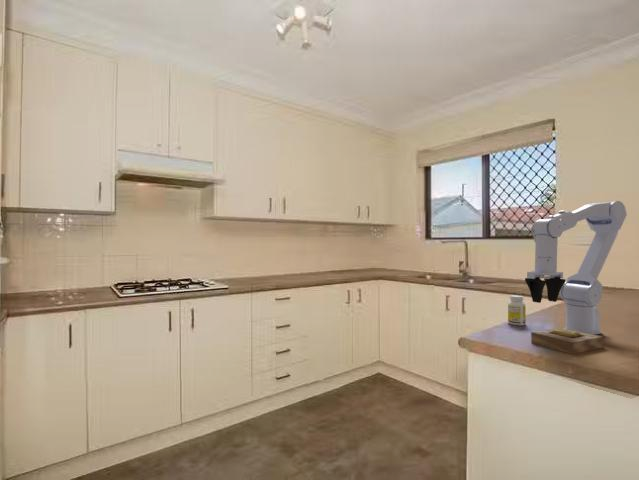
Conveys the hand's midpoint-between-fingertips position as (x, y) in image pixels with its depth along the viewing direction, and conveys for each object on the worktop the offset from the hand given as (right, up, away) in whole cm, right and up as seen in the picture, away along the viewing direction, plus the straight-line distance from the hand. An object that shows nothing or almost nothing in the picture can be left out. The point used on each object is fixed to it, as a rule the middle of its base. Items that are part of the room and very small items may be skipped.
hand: (544, 301), depth 110 cm
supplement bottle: (0, -11, +15) cm, 19 cm away
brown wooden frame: (0, -10, -10) cm, 15 cm away
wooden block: (0, -11, -10) cm, 14 cm away
